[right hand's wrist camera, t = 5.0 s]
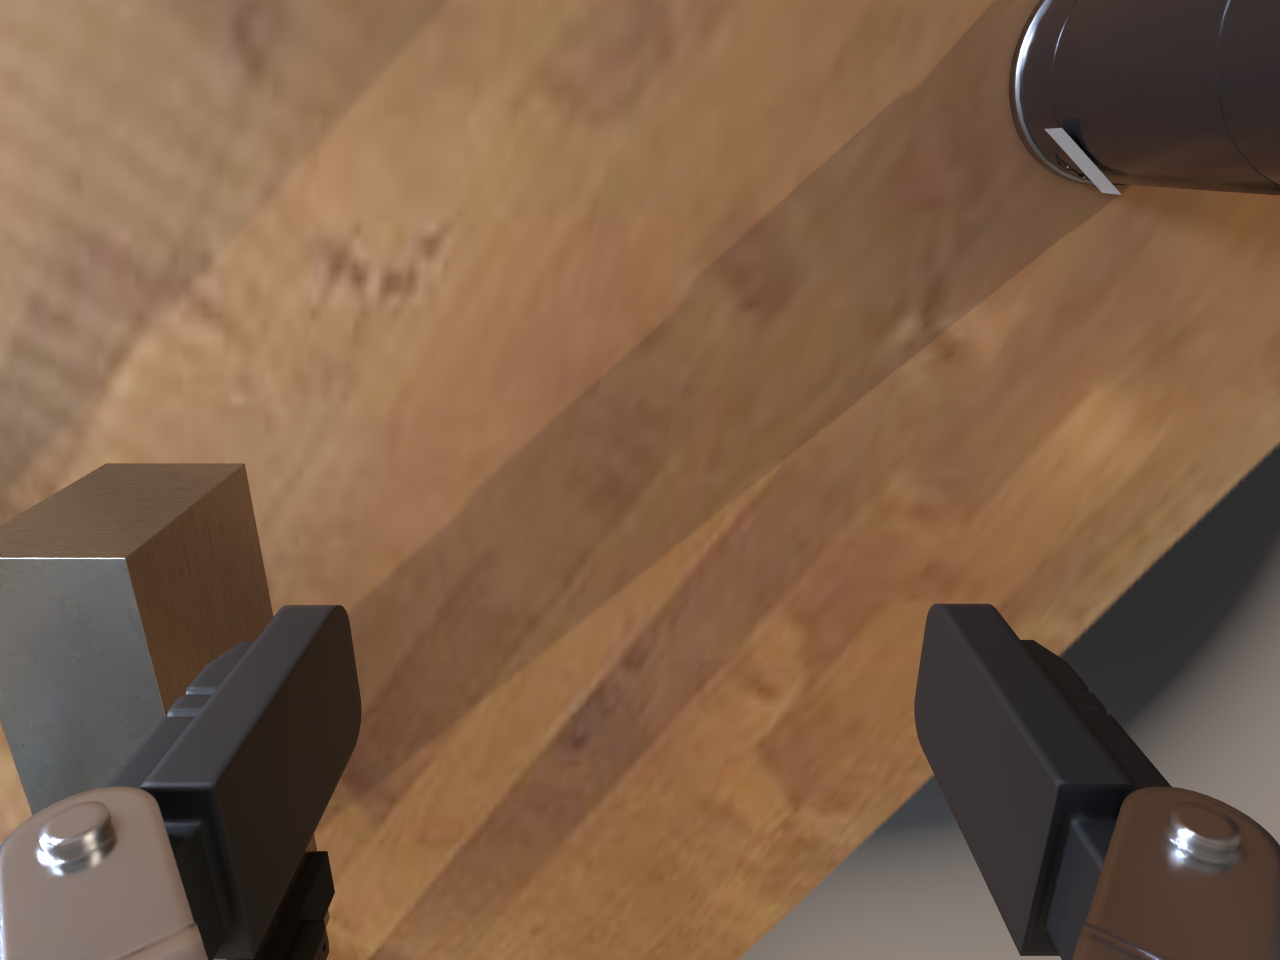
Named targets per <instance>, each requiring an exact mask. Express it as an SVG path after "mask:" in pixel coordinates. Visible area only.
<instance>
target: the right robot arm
mask: <svg viewBox="0 0 1280 960" xmlns="http://www.w3.org/2000/svg"><path fill="white" fill-rule="evenodd" d="M1009 97H1010V106H1011V112H1012V117H1013V120H1014V124H1015V127H1016V129H1017V132H1018V134H1019V136H1020V138H1021V140H1022V142H1023V144H1024V145H1025V147H1026V148H1027V150H1028V151H1029V152H1030V154H1031V155H1032V156H1033V157H1034V158H1035V159H1036V160H1037V161H1038V162H1039V163H1040V164H1041V165H1042V166H1043V167H1045V168H1046V169H1048V170H1049V171H1051V172H1052V173H1054V174H1056V175H1058V176H1060V177H1062V178H1065V179H1067V180H1070V181H1074V182H1078V183H1084V184H1093V185H1095V186H1096V187H1097V188H1098V189H1099V190H1100V191H1101V192H1102V193H1108V194H1119V195H1122V194H1121V193H1120V192H1119V191H1118V190H1117V189H1116V188H1115V187H1114V186H1113V185H1138V186H1151V187H1166V188H1181V189H1196V190H1210V191H1225V192H1240V193H1254V194H1269V195H1280V0H1040V2H1039V3H1038V4H1037V6H1036V7H1035V9H1034V11H1033V12H1032V14H1031V15H1030V17H1029V19H1028V21H1027V23H1026V24H1025V26H1024V28H1023V31H1022V33H1021V35H1020V38H1019V40H1018V43H1017V46H1016V49H1015V52H1014V56H1013V60H1012V66H1011V72H1010V82H1009ZM360 723H361V698H360V691H359V684H358V677H357V670H356V664H355V657H354V650H353V643H352V636H351V629H350V623H349V618H348V615H347V612H346V610H345V609H344V607H342V606H340V605H286V606H284V607H282V608H281V609H280V610H279V611H278V612H277V614H276V615H275V616H274V618H273V619H272V620H271V621H270V623H269V624H268V625H267V626H266V628H265V629H264V630H263V631H262V633H261V634H260V635H259V637H258V638H257V639H256V640H255V642H241V643H239V644H238V645H236V646H234V647H233V648H231V649H230V650H228V651H227V652H225V653H224V654H222V655H220V656H219V657H217V658H216V659H214V660H213V661H211V662H210V663H208V664H207V665H206V666H205V668H204V669H203V670H202V671H201V672H200V673H199V675H198V676H197V677H196V678H195V679H194V681H193V682H192V683H191V684H190V685H189V686H188V688H187V689H186V694H185V695H181V696H180V697H179V698H178V699H177V701H176V702H175V703H174V704H173V705H172V707H171V708H170V709H169V710H168V715H167V717H162V718H161V720H160V721H159V722H158V723H157V724H156V725H155V727H154V728H153V729H152V730H151V731H150V733H149V734H148V735H147V736H146V737H145V738H144V740H143V741H142V742H141V743H140V744H139V746H138V747H137V748H136V749H135V750H134V751H133V753H132V754H131V755H130V756H129V757H128V759H127V760H126V761H125V762H124V763H123V764H122V766H121V767H120V768H119V769H118V770H117V772H116V773H115V774H114V775H113V776H112V777H111V779H110V780H109V781H108V782H107V783H106V785H105V786H104V787H103V788H98V789H94V790H90V791H85V792H82V793H79V794H76V795H73V796H70V797H68V798H65V799H63V800H60V801H58V802H56V803H54V804H52V805H50V806H48V807H46V808H44V809H43V810H41V811H39V812H38V813H36V814H34V815H33V816H31V817H30V818H29V819H27V820H26V821H25V822H23V823H22V824H21V825H19V826H18V827H17V828H16V829H15V830H14V831H13V832H12V833H10V834H9V836H8V837H7V838H6V839H5V840H4V841H3V842H2V844H1V845H0V960H213V959H254V956H255V954H256V952H257V950H258V948H259V946H260V944H261V942H262V940H263V938H264V936H265V934H266V931H267V929H268V927H269V925H270V923H271V921H272V919H273V917H274V915H275V913H276V911H277V909H278V906H279V904H280V902H281V900H282V898H283V896H284V894H285V892H286V890H287V888H288V886H289V884H290V881H291V879H292V877H293V875H294V873H295V871H296V869H297V867H298V865H299V863H300V861H301V859H302V856H303V854H304V852H305V850H306V848H307V846H308V844H309V842H310V840H311V838H312V836H313V833H314V831H315V829H316V827H317V825H318V823H319V821H320V819H321V817H322V815H323V813H324V811H325V808H326V806H327V804H328V802H329V800H330V798H331V796H332V794H333V792H334V790H335V788H336V786H337V783H338V781H339V779H340V777H341V775H342V773H343V771H344V769H345V767H346V765H347V763H348V761H349V758H350V756H351V754H352V752H353V750H354V748H355V745H356V742H357V739H358V735H359V730H360ZM915 723H916V729H917V734H918V738H919V741H920V744H921V747H922V749H923V751H924V753H925V755H926V757H927V760H928V762H929V764H930V766H931V768H932V770H933V772H934V774H935V776H936V779H937V781H938V783H939V785H940V787H941V789H942V791H943V793H944V795H945V797H946V800H947V802H948V804H949V806H950V808H951V810H952V812H953V814H954V816H955V819H956V821H957V823H958V825H959V827H960V829H961V831H962V833H963V836H964V838H965V840H966V842H967V844H968V846H969V848H970V850H971V852H972V854H973V856H974V859H975V861H976V863H977V865H978V867H979V869H980V871H981V873H982V876H983V878H984V880H985V882H986V884H987V886H988V888H989V890H990V892H991V895H992V897H993V899H994V901H995V903H996V905H997V907H998V909H999V911H1000V913H1001V916H1002V918H1003V920H1004V922H1005V924H1006V926H1007V928H1008V930H1009V933H1010V935H1011V937H1012V939H1013V941H1014V943H1015V945H1016V947H1017V949H1018V952H1019V954H1020V956H1060V957H1061V959H1062V960H1280V845H1279V844H1278V842H1277V841H1276V840H1275V839H1274V838H1273V837H1272V836H1271V835H1270V834H1269V833H1268V832H1267V831H1266V830H1265V829H1264V828H1263V827H1262V826H1261V825H1259V824H1258V823H1257V822H1255V821H1254V820H1253V819H1251V818H1250V817H1249V816H1247V815H1246V814H1244V813H1242V812H1241V811H1239V810H1237V809H1236V808H1234V807H1232V806H1230V805H1228V804H1226V803H1224V802H1222V801H1220V800H1217V799H1215V798H1212V797H1210V796H1207V795H1204V794H1201V793H1198V792H1195V791H1190V790H1186V789H1182V788H1175V787H1171V785H1170V784H1169V783H1168V782H1167V781H1166V780H1165V778H1164V777H1163V776H1162V775H1161V774H1160V772H1159V771H1158V770H1157V769H1156V768H1155V766H1154V765H1153V764H1152V763H1151V762H1150V760H1149V759H1148V758H1147V757H1146V756H1145V755H1144V753H1143V752H1142V751H1141V750H1140V749H1139V747H1138V746H1137V745H1136V744H1135V743H1134V741H1133V740H1132V739H1131V738H1130V737H1129V735H1128V734H1127V733H1126V732H1125V731H1124V729H1123V728H1122V727H1121V726H1120V725H1119V724H1118V722H1117V721H1116V720H1115V719H1114V718H1113V716H1112V715H1107V712H1106V708H1105V707H1104V706H1103V705H1102V703H1101V702H1100V701H1099V700H1098V698H1097V697H1096V696H1095V695H1094V694H1093V693H1089V691H1088V687H1087V685H1086V684H1085V683H1084V682H1083V681H1082V679H1081V678H1080V677H1079V676H1078V675H1077V673H1076V672H1075V671H1074V670H1073V669H1072V668H1071V666H1070V665H1069V664H1068V663H1067V662H1066V661H1065V660H1063V659H1061V658H1060V657H1058V656H1057V655H1055V654H1054V653H1052V652H1051V651H1049V650H1048V649H1046V648H1044V647H1043V646H1041V645H1040V644H1038V643H1037V642H1035V641H1034V640H1020V639H1019V638H1018V636H1017V635H1016V634H1015V633H1014V631H1013V630H1012V629H1011V628H1010V626H1009V625H1008V624H1007V622H1006V621H1005V620H1004V619H1003V617H1002V616H1001V615H1000V613H999V612H998V611H997V610H996V608H995V607H994V606H992V605H991V604H934V605H933V606H932V607H931V608H930V610H929V612H928V615H927V620H926V626H925V633H924V639H923V646H922V653H921V660H920V667H919V674H918V681H917V688H916V695H915Z"/></svg>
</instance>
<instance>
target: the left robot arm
mask: <svg viewBox="0 0 1280 960" xmlns="http://www.w3.org/2000/svg"><path fill="white" fill-rule="evenodd" d="M334 893H335V891H334V885H333V880H332V874H331V869H330V863H329V857H328V852H327V851H312V853H311V855H310V857H309V859H308V862H307V864H306V866H305V868H304V870H303V872H302V874H301V877H300V879H299V881H298V883H297V885H296V887H295V889H294V892H293V894H292V896H291V898H290V900H289V902H288V904H287V906H286V909H285V911H284V913H283V915H282V917H281V919H280V921H279V924H278V926H277V928H276V930H275V932H274V934H273V936H272V939H271V941H270V943H269V945H268V947H267V949H266V951H265V953H264V956H263V958H262V960H326V959H327V956H328V954H329V942H328V937H327V931H326V926H325V921H324V917H325V915H326V913H327V910H328V908H329V905H330V903H331V901H332V898H333V896H334Z"/></svg>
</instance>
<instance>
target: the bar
mask: <svg viewBox="0 0 1280 960" xmlns="http://www.w3.org/2000/svg"><path fill="white" fill-rule="evenodd" d="M272 619H273V612H272V607H271V602H270V596H269V591H268V586H267V580H266V575H265V570H264V564H263V559H262V553H261V548H260V543H259V537H258V532H257V527H256V521H255V516H254V511H253V505H252V500H251V495H250V489H249V484H248V479H247V473H246V468H245V464H104V465H103V466H101V467H99V468H98V469H96V470H94V471H93V472H91V473H89V474H87V475H86V476H84V477H82V478H81V479H79V480H77V481H76V482H74V483H72V484H70V485H69V486H67V487H65V488H64V489H62V490H60V491H59V492H57V493H55V494H53V495H52V496H50V497H48V498H47V499H45V500H43V501H42V502H40V503H38V504H36V505H35V506H33V507H31V508H30V509H28V510H26V511H24V512H23V513H21V514H19V515H18V516H16V517H14V518H13V519H11V520H9V521H7V522H6V523H4V524H2V525H1V526H0V722H1V725H2V728H3V731H4V733H5V736H6V739H7V742H8V745H9V748H10V751H11V754H12V757H13V760H14V762H15V765H16V768H17V771H18V774H19V777H20V780H21V783H22V786H23V789H24V792H25V794H26V797H27V800H28V803H29V806H30V809H31V812H32V815H34V814H36V813H38V812H39V811H41V810H43V809H44V808H46V807H48V806H50V805H52V804H54V803H56V802H58V801H60V800H63V799H65V798H68V797H70V796H73V795H76V794H79V793H82V792H85V791H90V790H94V789H98V788H103V787H104V786H105V785H106V783H107V782H108V781H109V780H110V779H111V777H112V776H113V775H114V774H115V773H116V772H117V770H118V769H119V768H120V767H121V766H122V764H123V763H124V762H125V761H126V760H127V759H128V757H129V756H130V755H131V754H132V753H133V751H134V750H135V749H136V748H137V747H138V746H139V744H140V743H141V742H142V741H143V740H144V738H145V737H146V736H147V735H148V734H149V733H150V731H151V730H152V729H153V728H154V727H155V725H156V724H157V723H158V722H159V721H160V720H161V718H162V717H167V715H168V710H169V709H170V708H171V707H172V705H173V704H174V703H175V702H176V701H177V699H178V698H179V697H180V696H181V695H185V694H186V689H187V688H188V686H189V685H190V684H191V683H192V682H193V681H194V679H195V678H196V677H197V676H198V675H199V673H200V672H201V671H202V670H203V669H204V668H205V666H206V665H207V664H208V663H210V662H211V661H213V660H214V659H216V658H217V657H219V656H220V655H222V654H224V653H225V652H227V651H228V650H230V649H231V648H233V647H234V646H236V645H238V644H239V643H241V642H255V640H256V639H257V638H258V637H259V635H260V634H261V633H262V631H263V630H264V629H265V628H266V626H267V625H268V624H269V623H270V621H271V620H272ZM312 851H317V848H316V842H315V837H314V833H313V836H312V838H311V840H310V842H309V844H308V846H307V848H306V850H305V852H304V854H303V856H302V859H301V861H300V863H299V865H298V867H297V869H296V871H295V873H294V875H293V877H292V879H291V881H290V884H289V886H288V888H287V890H286V892H285V894H284V896H283V898H282V900H281V902H280V904H279V906H278V909H277V911H276V913H275V915H274V917H273V919H272V921H271V923H270V925H269V927H268V929H267V931H266V934H265V936H264V938H263V940H262V942H261V944H260V946H259V948H258V950H257V952H256V954H255V956H254V959H213V960H262V958H263V956H264V953H265V951H266V949H267V947H268V945H269V943H270V941H271V939H272V936H273V934H274V932H275V930H276V928H277V926H278V924H279V921H280V919H281V917H282V915H283V913H284V911H285V909H286V906H287V904H288V902H289V900H290V898H291V896H292V894H293V892H294V889H295V887H296V885H297V883H298V881H299V879H300V877H301V874H302V872H303V870H304V868H305V866H306V864H307V862H308V859H309V857H310V855H311V853H312ZM329 918H330V917H329V912H328V910H327V913H326V915H325V917H324V921H325V926H327V923H328V921H329Z"/></svg>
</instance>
